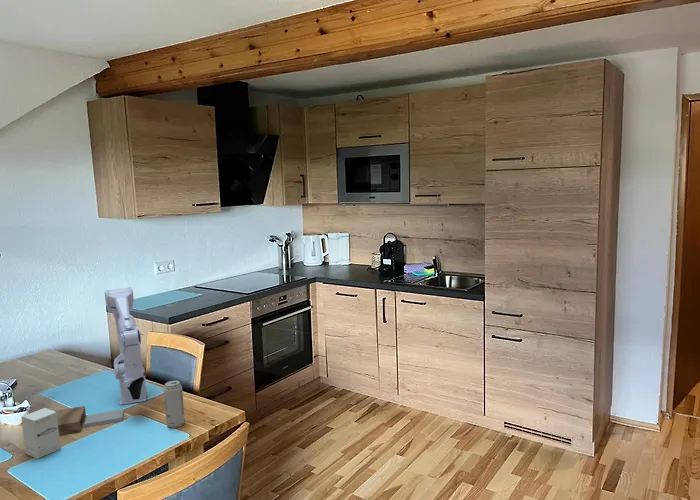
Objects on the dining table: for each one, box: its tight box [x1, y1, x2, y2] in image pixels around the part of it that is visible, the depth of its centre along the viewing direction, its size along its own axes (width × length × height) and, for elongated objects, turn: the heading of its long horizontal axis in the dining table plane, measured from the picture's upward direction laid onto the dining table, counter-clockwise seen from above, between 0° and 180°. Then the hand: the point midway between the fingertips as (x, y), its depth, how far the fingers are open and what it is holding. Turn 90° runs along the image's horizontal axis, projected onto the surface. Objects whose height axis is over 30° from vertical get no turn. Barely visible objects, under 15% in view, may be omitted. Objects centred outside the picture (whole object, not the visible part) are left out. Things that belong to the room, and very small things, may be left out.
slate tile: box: [84, 409, 125, 428], centre depth 184 cm, size 12×8×2 cm, turn 110°
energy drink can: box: [163, 380, 186, 429], centre depth 177 cm, size 6×6×15 cm
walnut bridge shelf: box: [57, 405, 87, 436], centre depth 180 cm, size 8×14×4 cm, turn 20°
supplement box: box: [21, 407, 61, 460], centre depth 162 cm, size 7×7×13 cm
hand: (136, 398), depth 187 cm, fingers closed
